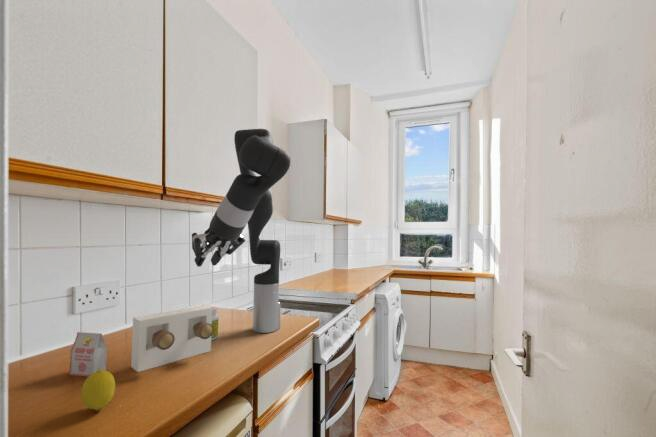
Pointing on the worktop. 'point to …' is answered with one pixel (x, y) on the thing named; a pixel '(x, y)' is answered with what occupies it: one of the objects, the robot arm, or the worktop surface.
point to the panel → (179, 326)
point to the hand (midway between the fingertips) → (205, 263)
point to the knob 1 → (163, 339)
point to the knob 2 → (203, 329)
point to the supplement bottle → (214, 324)
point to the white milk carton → (88, 354)
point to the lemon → (98, 389)
